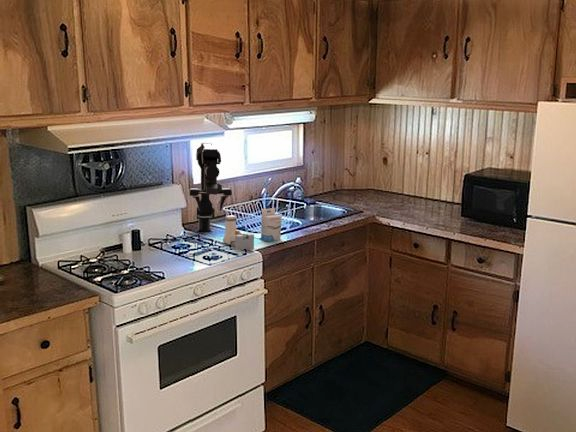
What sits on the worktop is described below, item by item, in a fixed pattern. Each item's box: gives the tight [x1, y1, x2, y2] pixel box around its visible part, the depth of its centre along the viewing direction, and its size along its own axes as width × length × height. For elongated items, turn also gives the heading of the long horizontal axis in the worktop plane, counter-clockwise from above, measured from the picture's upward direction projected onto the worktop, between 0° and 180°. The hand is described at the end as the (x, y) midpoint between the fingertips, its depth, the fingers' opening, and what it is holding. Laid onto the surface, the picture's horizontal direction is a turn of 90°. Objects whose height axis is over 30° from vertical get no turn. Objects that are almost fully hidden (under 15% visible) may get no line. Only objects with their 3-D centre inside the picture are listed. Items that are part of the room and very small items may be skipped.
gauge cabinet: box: [234, 233, 255, 251], centre depth 278 cm, size 4×8×6 cm, turn 123°
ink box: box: [260, 207, 282, 242], centre depth 296 cm, size 8×5×15 cm, turn 131°
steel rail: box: [222, 237, 235, 247], centre depth 286 cm, size 16×3×1 cm, turn 33°
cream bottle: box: [223, 214, 237, 245], centre depth 287 cm, size 5×5×12 cm
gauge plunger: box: [235, 229, 247, 239], centre depth 280 cm, size 8×2×2 cm, turn 33°
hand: (210, 210), depth 283 cm, fingers open, 9 cm apart
